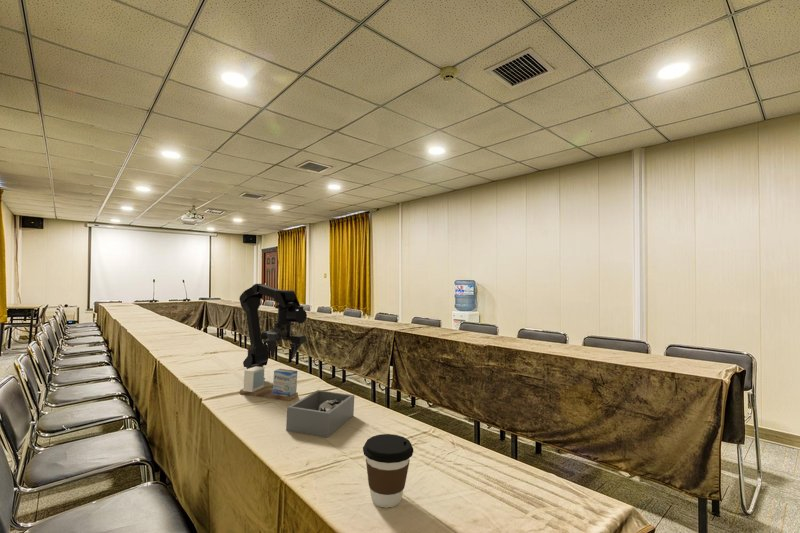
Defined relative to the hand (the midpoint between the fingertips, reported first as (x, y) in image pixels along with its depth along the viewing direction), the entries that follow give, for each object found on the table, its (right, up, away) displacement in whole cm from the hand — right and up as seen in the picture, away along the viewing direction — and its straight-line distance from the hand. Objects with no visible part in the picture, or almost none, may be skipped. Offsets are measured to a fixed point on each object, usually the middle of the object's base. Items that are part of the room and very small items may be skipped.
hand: (282, 358), depth 158 cm
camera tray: (+24, -13, -35) cm, 44 cm away
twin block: (-9, -11, -7) cm, 16 cm away
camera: (+25, -13, -37) cm, 47 cm away
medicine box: (+4, -11, -11) cm, 16 cm away
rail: (-2, -12, -9) cm, 16 cm away
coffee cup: (+46, -13, -76) cm, 89 cm away
